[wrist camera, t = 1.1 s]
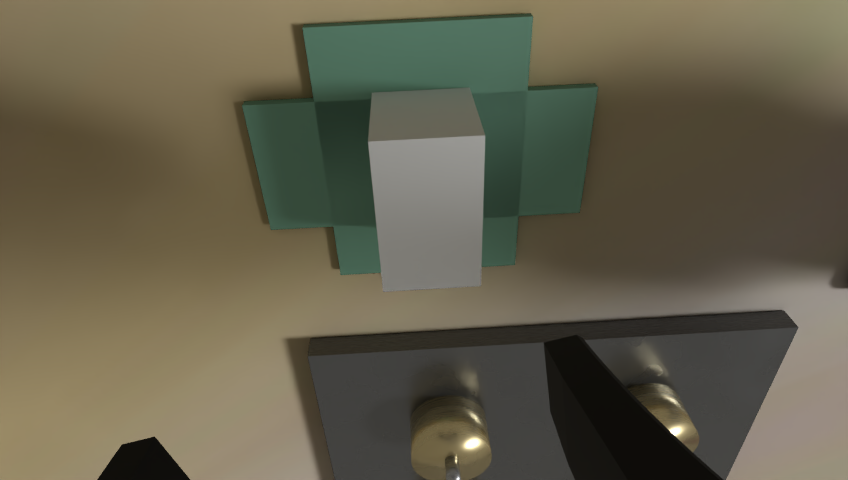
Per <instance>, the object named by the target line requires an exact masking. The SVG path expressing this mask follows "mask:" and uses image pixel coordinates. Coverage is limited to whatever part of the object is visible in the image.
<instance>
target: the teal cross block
mask: <svg viewBox="0 0 848 480" xmlns="http://www.w3.org/2000/svg"><path fill="white" fill-rule="evenodd" d="M532 23H533V16H532V15H531V13H530V14H509V15H489V16H469V17H448V18H428V19H407V20H387V21H366V22H346V23H326V24H305V25H304V26H303V35H304V41H305V48H306V54H307V60H308V67H309V73H310V80H311V86H312V93H313V98H300V99H281V100H261V101H244V103H243V105H242V108H243V112H244V116H245V120H246V125H247V129H248V133H249V138H250V142H251V146H252V151H253V155H254V159H255V163H256V168H257V172H258V176H259V181H260V185H261V189H262V193H263V198H264V202H265V206H266V211H267V215H268V219H269V224H270V228H271V230H278V229H296V228H314V227H332V226H333V228H334V235H335V241H336V247H337V254H338V260H339V267H340V273H341V275H349V274H366V273H381V275H382V285H383V292H388V291H406V290H423V289H440V288H457V287H474V286H481V267H488V266H505V265H515V257H516V243H517V230H518V216H529V215H547V214H564V213H580V207H581V201H582V194H583V187H584V180H585V173H586V167H587V160H588V153H589V146H590V139H591V132H592V126H593V119H594V112H595V105H596V98H597V92H598V86H597V85H596V84H595V83H593V84H573V85H554V86H534V87H528V78H529V64H530V51H531V37H532Z"/></svg>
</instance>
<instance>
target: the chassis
mask: <svg viewBox="0 0 848 480" xmlns="http://www.w3.org/2000/svg"><path fill="white" fill-rule="evenodd" d="M797 329H798V326H797V325H796V324H795V323H794V322H793V320H792V319H791V318H790V317H789V316H788V315H787V313H786V312H785V311H773V312H756V313H739V314H722V315H705V316H688V317H671V318H654V319H637V320H620V321H603V322H585V323H568V324H551V325H534V326H517V327H500V328H483V329H466V330H449V331H432V332H415V333H398V334H380V335H363V336H346V337H329V338H312V339H310V345H309V351H308V360H309V365H310V369H311V374H312V378H313V383H314V387H315V392H316V396H317V401H318V405H319V410H320V414H321V419H322V423H323V428H324V433H325V437H326V442H327V446H328V451H329V455H330V460H331V464H332V469H333V473H334V478H335V480H575V479H574V476H573V474H572V472H571V470H570V467H569V465H568V462H567V459H566V457H565V454H564V451H563V448H562V445H561V442H560V439H559V436H558V433H557V430H556V427H555V424H554V421H553V418H552V415H551V412H550V404H549V393H548V383H547V373H546V363H545V352H544V342H548V341H552V340H556V339H561V338H565V337H569V336H573V335H578V336H580V337H582V338H583V339H584V340H585V341H586V343H587V344H588V345H589V346H590V348H591V349H592V350H593V351H594V352H595V353H596V355H597V356H598V357H599V358H600V359H601V360H602V362H603V363H604V364H605V365H606V366H607V367H608V368H609V369H610V371H611V372H612V373H613V374H614V375H615V376H616V377H617V378H618V379H619V380H620V381H621V382H622V383H623V385H624V386H625V387H626V388H627V389H628V390H629V391H630V392H631V393H632V394H633V395H634V396H635V397H636V398H637V399H638V400H639V401H640V402H641V403H642V404H643V405H644V406H645V407H646V408H647V409H648V410H649V411H650V412H651V413H652V414H653V415H654V416H655V417H656V418H657V419H658V420H659V421H660V422H661V423H662V424H663V425H664V426H665V427H666V428H667V429H668V430H669V431H670V432H671V433H672V434H673V435H675V436H676V437H677V438H678V439H679V440H680V441H681V442H682V443H683V444H684V445H685V446H686V447H687V448H688V449H690V450H691V451H692V452H693V453H694V454H695V455H696V456H697V457H698V458H700V459H701V460H702V461H703V462H704V463H705V464H706V465H707V466H709V467H710V468H711V469H712V470H713V471H714V472H715V473H717V474H718V475H719V476H720V477H721V478H722V479H723V480H726V478H727V476H728V474H729V472H730V470H731V468H732V466H733V464H734V461H735V459H736V457H737V455H738V453H739V451H740V449H741V447H742V445H743V443H744V440H745V438H746V436H747V434H748V432H749V430H750V428H751V426H752V424H753V422H754V419H755V417H756V415H757V413H758V411H759V409H760V407H761V405H762V403H763V401H764V399H765V396H766V394H767V392H768V390H769V388H770V386H771V384H772V382H773V380H774V378H775V375H776V373H777V371H778V369H779V367H780V365H781V363H782V361H783V359H784V357H785V354H786V352H787V350H788V348H789V346H790V344H791V342H792V340H793V338H794V336H795V334H796V331H797Z"/></svg>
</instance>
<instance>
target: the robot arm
mask: <svg viewBox="0 0 848 480" xmlns="http://www.w3.org/2000/svg"><path fill="white" fill-rule="evenodd" d="M544 352H545V363H546V373H547V383H548V393H549V404H550V412H551V415H552V418H553V421H554V424H555V427H556V430H557V433H558V436H559V439H560V442H561V445H562V448H563V451H564V454H565V457H566V459H567V462H568V465H569V467H570V470H571V472H572V474H573V476H574V479H575V480H723V479H722V478H721V477H720V476H719V475H718V474H717V473H715V472H714V471H713V470H712V469H711V468H710V467H709V466H707V465H706V464H705V463H704V462H703V461H702V460H701V459H700V458H698V457H697V456H696V455H695V454H694V453H693V452H692V451H691V450H690V449H688V448H687V447H686V446H685V445H684V444H683V443H682V442H681V441H680V440H679V439H678V438H677V437H676V436H675V435H673V434H672V433H671V432H670V431H669V430H668V429H667V428H666V427H665V426H664V425H663V424H662V423H661V422H660V421H659V420H658V419H657V418H656V417H655V416H654V415H653V414H652V413H651V412H650V411H649V410H648V409H647V408H646V407H645V406H644V405H643V404H642V403H641V402H640V401H639V400H638V399H637V398H636V397H635V396H634V395H633V394H632V393H631V392H630V391H629V390H628V389H627V388H626V387H625V386H624V385H623V383H622V382H621V381H620V380H619V379H618V378H617V377H616V376H615V375H614V374H613V373H612V372H611V371H610V369H609V368H608V367H607V366H606V365H605V364H604V363H603V362H602V360H601V359H600V358H599V357H598V356H597V355H596V353H595V352H594V351H593V350H592V349H591V348H590V346H589V345H588V344H587V343H586V341H585V340H584V339H583V338H582V337H580V336H578V335H573V336H569V337H565V338H561V339H556V340H552V341H548V342H544ZM98 480H190V479H189V478H188V476H187V475H186V474H185V473H184V472H183V470H182V469H181V468H180V467H179V466H178V464H177V463H176V462H175V461H174V459H173V458H172V457H171V456H170V455H169V453H168V452H167V451H166V450H165V449H164V447H163V446H162V445H161V444H160V442H159V441H158V440H157V439H156V438H155V437H151V438H147V439H143V440H139V441H135V442H131V443H127V444H122V445H121V447H120V448H119V450H118V451H117V452H116V454H115V455H114V457H113V458H112V459H111V461H110V462H109V464H108V465H107V467H106V468H105V469H104V471H103V472H102V474H101V475H100V477H99V478H98Z"/></svg>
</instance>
